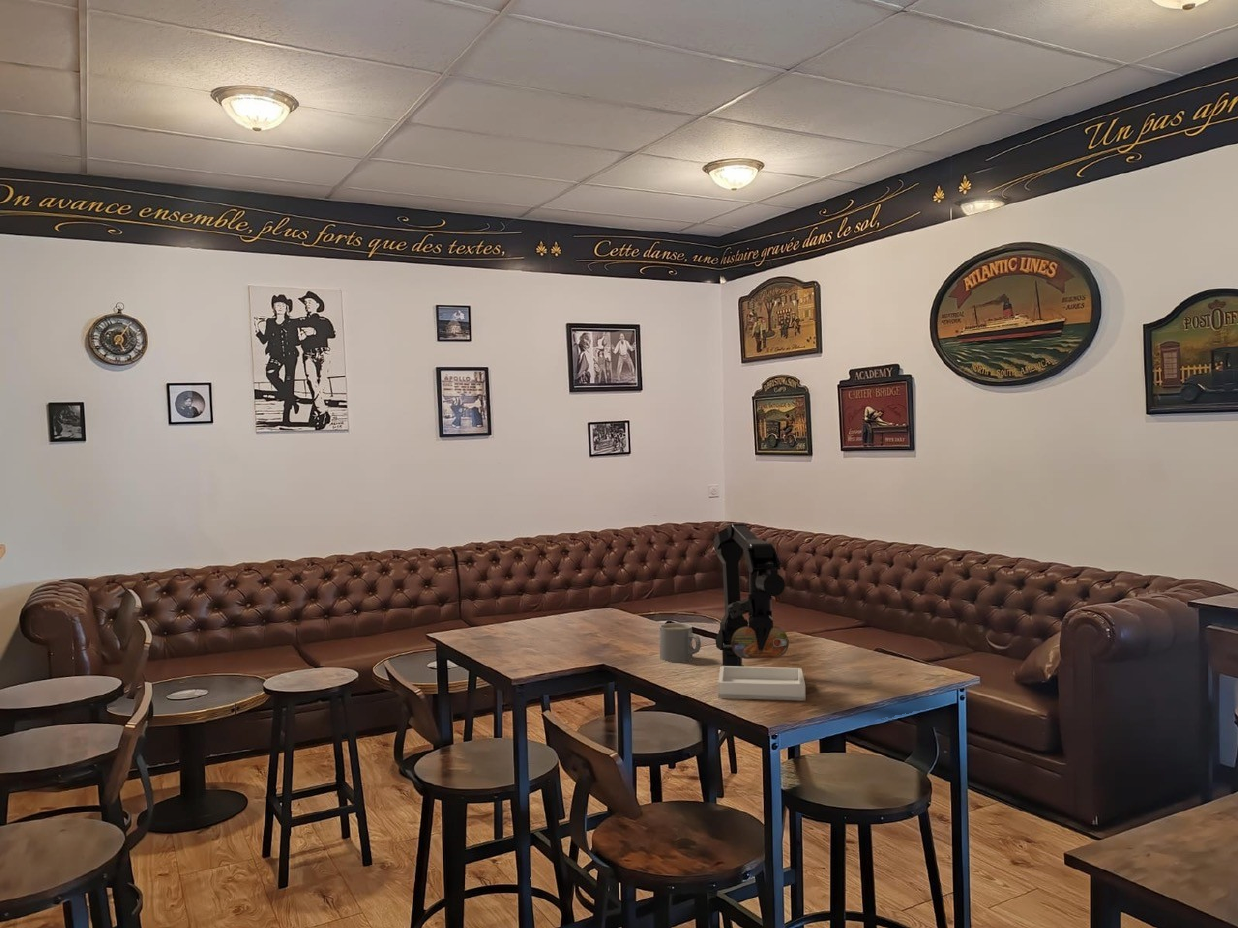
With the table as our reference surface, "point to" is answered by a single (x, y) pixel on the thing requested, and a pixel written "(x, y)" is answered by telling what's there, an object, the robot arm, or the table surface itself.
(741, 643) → the tin
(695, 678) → the table surface
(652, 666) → the table surface
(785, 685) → the tray
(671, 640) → the coffee mug
